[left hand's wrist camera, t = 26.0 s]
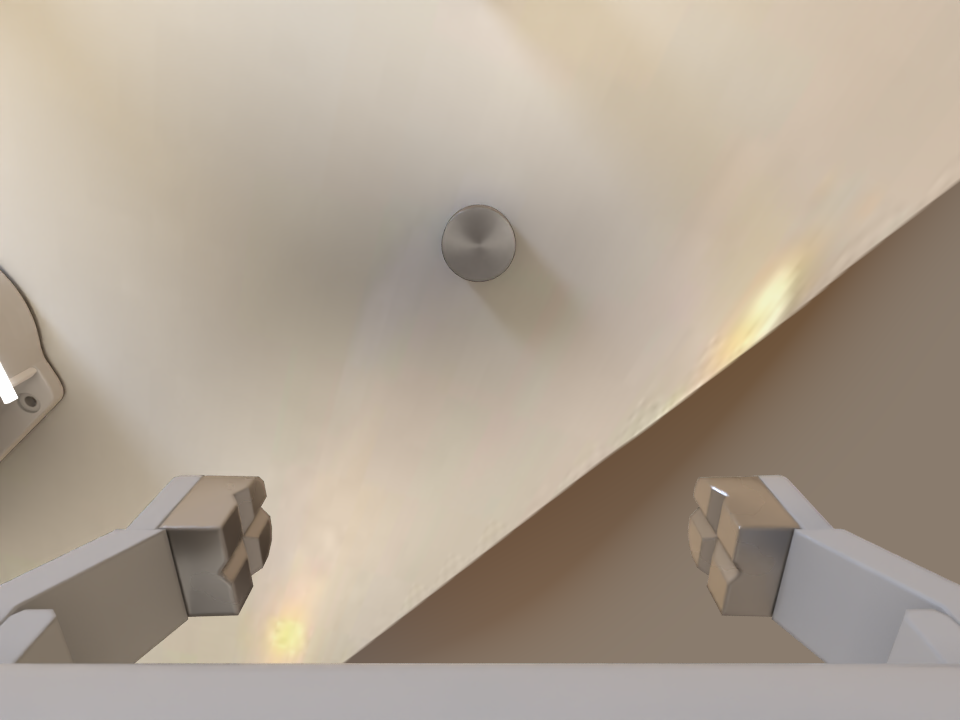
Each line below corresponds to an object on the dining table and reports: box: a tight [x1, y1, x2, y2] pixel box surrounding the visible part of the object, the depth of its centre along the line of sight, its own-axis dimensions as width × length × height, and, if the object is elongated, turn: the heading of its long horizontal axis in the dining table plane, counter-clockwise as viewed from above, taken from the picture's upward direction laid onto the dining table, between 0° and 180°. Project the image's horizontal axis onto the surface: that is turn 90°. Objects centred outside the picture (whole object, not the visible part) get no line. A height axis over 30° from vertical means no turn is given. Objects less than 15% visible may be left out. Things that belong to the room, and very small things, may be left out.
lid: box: [442, 205, 516, 282], centre depth 37 cm, size 5×5×2 cm
